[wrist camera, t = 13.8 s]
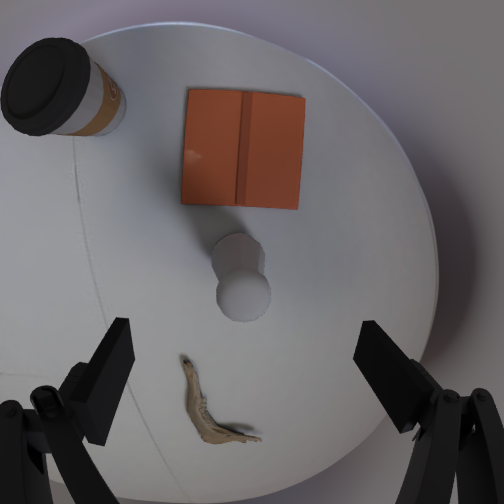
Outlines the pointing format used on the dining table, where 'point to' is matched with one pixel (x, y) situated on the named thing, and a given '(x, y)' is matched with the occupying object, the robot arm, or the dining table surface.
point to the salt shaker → (241, 277)
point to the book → (243, 149)
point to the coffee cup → (60, 92)
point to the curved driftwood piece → (207, 414)
